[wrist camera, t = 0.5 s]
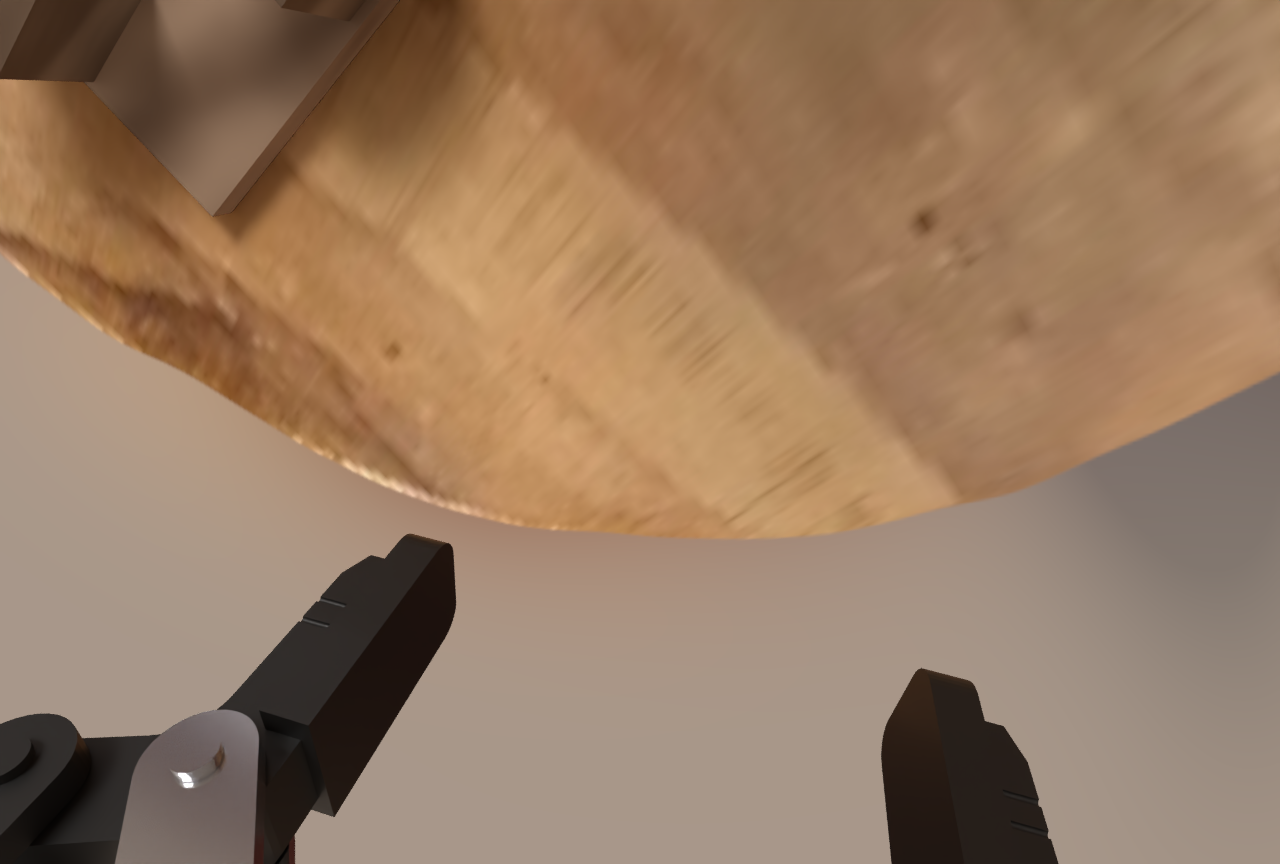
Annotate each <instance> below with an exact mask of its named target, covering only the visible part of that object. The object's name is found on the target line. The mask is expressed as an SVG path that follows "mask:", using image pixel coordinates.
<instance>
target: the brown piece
mask: <svg viewBox="0 0 1280 864" xmlns="http://www.w3.org/2000/svg"><path fill="white" fill-rule="evenodd" d="M399 1H400V0H0V79H16V80H45V81H74V82H84V83H85V84H86V85H87V86H88V87H89V88H90V89H91V90H92V91H93V92H94V93H95V94H96V95H97V96H98V98H99V99H100V100H101V101H102V102H103V103H104V104H105V105H106V106H107V107H108V108H109V109H110V110H111V111H112V112H113V113H114V114H115V115H116V116H117V117H118V118H119V120H120V121H121V122H122V123H123V124H124V125H125V126H126V127H127V128H128V129H129V130H130V131H131V132H132V133H133V134H134V135H135V136H136V137H137V138H138V139H139V140H140V142H141V143H142V144H143V145H144V146H145V147H146V148H147V149H148V150H149V151H150V152H151V153H152V154H153V155H154V156H155V157H156V158H157V159H158V160H159V161H160V162H161V164H162V165H163V166H164V167H165V168H166V169H167V170H168V171H169V172H170V173H171V174H172V175H173V176H174V177H175V178H176V179H177V180H178V181H179V182H180V183H181V184H182V186H183V187H184V188H185V189H186V190H187V191H188V192H189V193H190V194H191V195H192V196H193V197H194V198H195V199H196V200H197V201H198V202H199V203H200V204H201V205H202V206H203V208H204V209H205V210H206V211H207V212H208V213H209V214H210V215H211V216H212V217H213V216H218V215H223V214H228V213H231V212H232V211H233V210H234V209H235V207H236V206H237V205H238V204H239V202H240V201H241V200H242V199H243V197H244V196H245V195H246V193H247V192H248V191H249V190H250V188H251V187H252V186H253V185H254V183H255V182H256V181H257V180H258V178H259V177H260V176H261V175H262V173H263V172H264V171H265V170H266V168H267V167H268V166H269V164H270V163H271V162H272V161H273V159H274V158H275V157H276V156H277V154H278V153H279V152H280V151H281V149H282V148H283V147H284V146H285V144H286V143H287V142H288V141H289V139H290V138H291V137H292V135H293V134H294V133H295V132H296V130H297V129H298V128H299V127H300V125H301V124H302V123H303V122H304V120H305V119H306V118H307V117H308V115H309V114H310V113H311V112H312V110H313V109H314V108H315V106H316V105H317V104H318V103H319V101H320V100H321V99H322V98H323V96H324V95H325V94H326V93H327V91H328V90H329V89H330V88H331V86H332V85H333V84H334V83H335V81H336V80H337V79H338V77H339V76H340V75H341V74H342V72H343V71H344V70H345V69H346V67H347V66H348V65H349V64H350V62H351V61H352V60H353V59H354V57H355V56H356V55H357V54H358V52H359V51H360V50H361V48H362V47H363V46H364V45H365V43H366V42H367V41H368V40H369V38H370V37H371V36H372V35H373V33H374V32H375V31H376V30H377V28H378V27H379V26H380V25H381V23H382V22H383V21H384V19H385V18H386V17H387V16H388V14H389V13H390V12H391V11H392V9H393V8H394V7H395V6H396V4H397V3H398V2H399Z"/></svg>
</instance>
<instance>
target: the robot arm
mask: <svg viewBox="0 0 1280 864" xmlns="http://www.w3.org/2000/svg"><path fill="white" fill-rule="evenodd" d="M455 609H456V592H455V573H454V555H453V548H452V546H451V545H450V544H449V543H445V542H441V541H437V540H433V539H430V538H426V537H422V536H418V535H414V534H407V535H405V536H404V537H403V538H402V539H401V540H400V541H399V542H398V543H397V545H396V546H395V547H394V548H393V549H392V551H391V552H390V553H389V554H388V555H387V557H386V558H385V559H384V558H380V557H376V556H372V555H371V556H369V557H367V558H366V559H364V560H362V561H361V562H359V563H358V564H356V565H354V566H352V567H351V568H349V569H347V570H346V571H344V572H342V573H341V574H340V576H339V577H338V578H337V579H336V580H335V581H334V582H333V583H332V585H331V586H330V587H329V588H328V589H327V590H326V591H325V593H324V594H323V595H322V596H321V599H320V601H319V602H315V604H314V605H313V606H312V607H311V608H310V609H309V610H308V611H307V613H306V614H305V615H304V616H303V620H302V621H301V622H298V623H297V624H296V625H295V626H294V627H293V628H292V629H291V631H290V632H289V633H288V634H287V635H286V636H285V637H284V638H283V640H282V641H281V642H280V643H279V644H278V645H277V646H276V647H275V648H274V650H273V651H272V652H271V653H270V654H269V655H268V656H267V657H266V659H265V660H264V661H263V662H262V663H261V664H260V665H259V666H258V668H257V669H256V670H255V671H254V672H253V673H252V675H251V676H249V678H248V679H247V680H246V681H245V682H244V683H243V684H242V686H241V687H240V688H239V689H238V690H237V691H236V692H235V693H234V694H233V696H232V697H231V698H230V699H229V700H228V701H227V702H226V703H224V704H223V705H222V706H221V707H219V708H218V709H217V710H212V711H207V712H202V713H199V714H197V715H193V716H191V717H188V718H186V719H184V720H182V721H180V722H178V723H177V724H175V725H173V726H172V727H170V728H169V729H167V730H166V731H165V732H163V733H162V734H159V735H150V736H127V737H104V738H82V737H81V736H80V734H79V733H78V731H77V729H76V728H75V726H74V725H73V724H72V722H71V721H69V720H68V719H67V718H65V717H62V716H59V715H55V714H34V715H27V716H24V717H19V718H16V719H13V720H10V721H7V722H5V723H2V724H0V864H295V833H296V832H297V830H298V829H299V827H300V826H301V824H302V822H303V821H304V819H305V818H306V816H307V815H308V813H309V812H310V810H314V811H318V812H320V813H324V814H326V815H330V816H333V817H335V815H336V814H337V812H338V810H339V809H340V807H341V805H342V804H343V802H344V801H345V799H346V797H347V796H348V794H349V793H350V791H351V789H352V788H353V786H354V784H355V783H356V781H357V779H358V778H359V776H360V775H361V773H362V772H363V770H364V768H365V767H366V765H367V763H368V762H369V760H370V759H371V757H372V755H373V754H374V752H375V751H376V749H377V747H378V746H379V744H380V742H381V740H382V739H383V738H384V736H385V734H386V733H387V731H388V729H389V728H390V726H391V725H392V723H393V721H394V720H395V718H396V717H397V715H398V713H399V711H400V710H401V708H402V707H403V705H404V704H405V702H406V700H407V699H408V697H409V695H410V694H411V692H412V691H413V689H414V687H415V686H416V684H417V682H418V681H419V679H420V678H421V676H422V674H423V673H424V671H425V670H426V668H427V666H428V665H429V663H430V662H431V660H432V658H433V657H434V655H435V653H436V652H437V650H438V649H439V647H440V645H441V644H442V642H443V640H444V639H445V637H446V635H447V633H448V631H449V629H450V627H451V624H452V621H453V618H454V614H455ZM881 760H882V772H883V782H884V792H885V802H886V812H887V821H888V831H889V842H890V851H891V862H892V864H1058V861H1057V857H1056V854H1055V851H1054V847H1053V845H1052V841H1051V839H1048V828H1047V824H1046V821H1045V818H1044V815H1043V811H1042V808H1041V807H1039V806H1038V800H1039V798H1038V795H1037V792H1036V789H1035V785H1034V782H1033V778H1032V775H1031V772H1030V769H1029V765H1028V762H1027V761H1026V759H1025V758H1024V756H1023V755H1022V753H1021V752H1020V750H1019V749H1018V747H1017V746H1016V744H1015V743H1014V741H1013V740H1012V738H1011V737H1010V735H1009V734H1008V732H1007V731H1006V729H1005V728H1004V726H1001V725H997V724H993V723H989V722H986V721H985V720H984V716H983V713H982V708H981V705H980V701H979V697H978V693H977V690H976V688H975V686H974V685H973V683H972V682H970V681H968V680H965V679H961V678H957V677H953V676H949V675H945V674H942V673H937V672H934V671H930V670H926V669H922V668H921V669H918V670H917V671H916V672H915V674H914V675H913V677H912V679H911V681H910V683H909V685H908V686H907V688H906V690H905V691H904V693H903V695H902V697H901V699H900V700H899V702H898V704H897V706H896V708H895V709H894V711H893V713H892V715H891V716H890V718H889V720H888V722H887V724H886V727H885V731H884V735H883V741H882V751H881Z"/></svg>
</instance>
